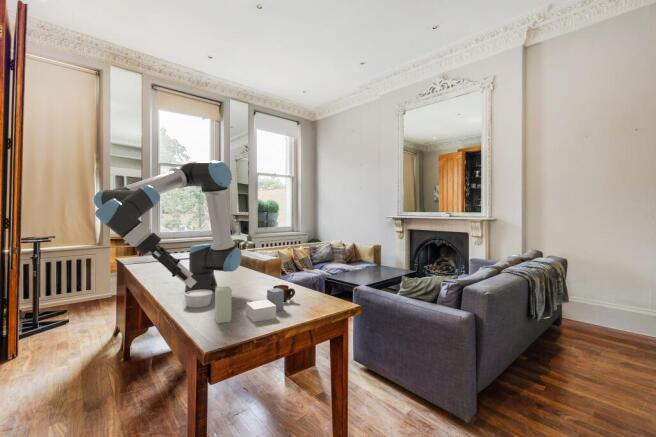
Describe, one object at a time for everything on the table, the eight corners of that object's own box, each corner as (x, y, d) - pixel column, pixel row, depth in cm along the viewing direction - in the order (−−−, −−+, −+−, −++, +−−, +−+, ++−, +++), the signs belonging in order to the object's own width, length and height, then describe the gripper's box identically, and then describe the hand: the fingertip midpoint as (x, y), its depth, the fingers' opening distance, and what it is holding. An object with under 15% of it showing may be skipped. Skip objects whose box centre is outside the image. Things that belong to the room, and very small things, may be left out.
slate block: (266, 308, 127) (267, 289, 127) (276, 306, 131) (277, 287, 131) (273, 311, 124) (273, 292, 124) (283, 309, 127) (283, 290, 127)
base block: (245, 315, 120) (246, 302, 119) (267, 311, 124) (267, 299, 124) (253, 322, 112) (253, 309, 112) (275, 318, 117) (276, 305, 117)
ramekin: (185, 301, 134) (186, 289, 133) (212, 299, 137) (212, 288, 137) (182, 309, 123) (183, 297, 123) (212, 307, 127) (212, 295, 127)
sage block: (214, 318, 114) (215, 287, 114) (228, 316, 117) (228, 286, 116) (217, 323, 110) (217, 290, 109) (231, 321, 112) (231, 289, 112)
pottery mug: (267, 303, 135) (267, 285, 139) (277, 307, 143) (277, 290, 147) (291, 299, 132) (291, 281, 136) (300, 303, 140) (299, 286, 144)
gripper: (136, 243, 109) (181, 281, 117) (130, 252, 87) (186, 298, 95) (153, 229, 112) (196, 266, 119) (151, 234, 90) (204, 280, 98)
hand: (191, 280), depth 107 cm, fingers open, 13 cm apart
